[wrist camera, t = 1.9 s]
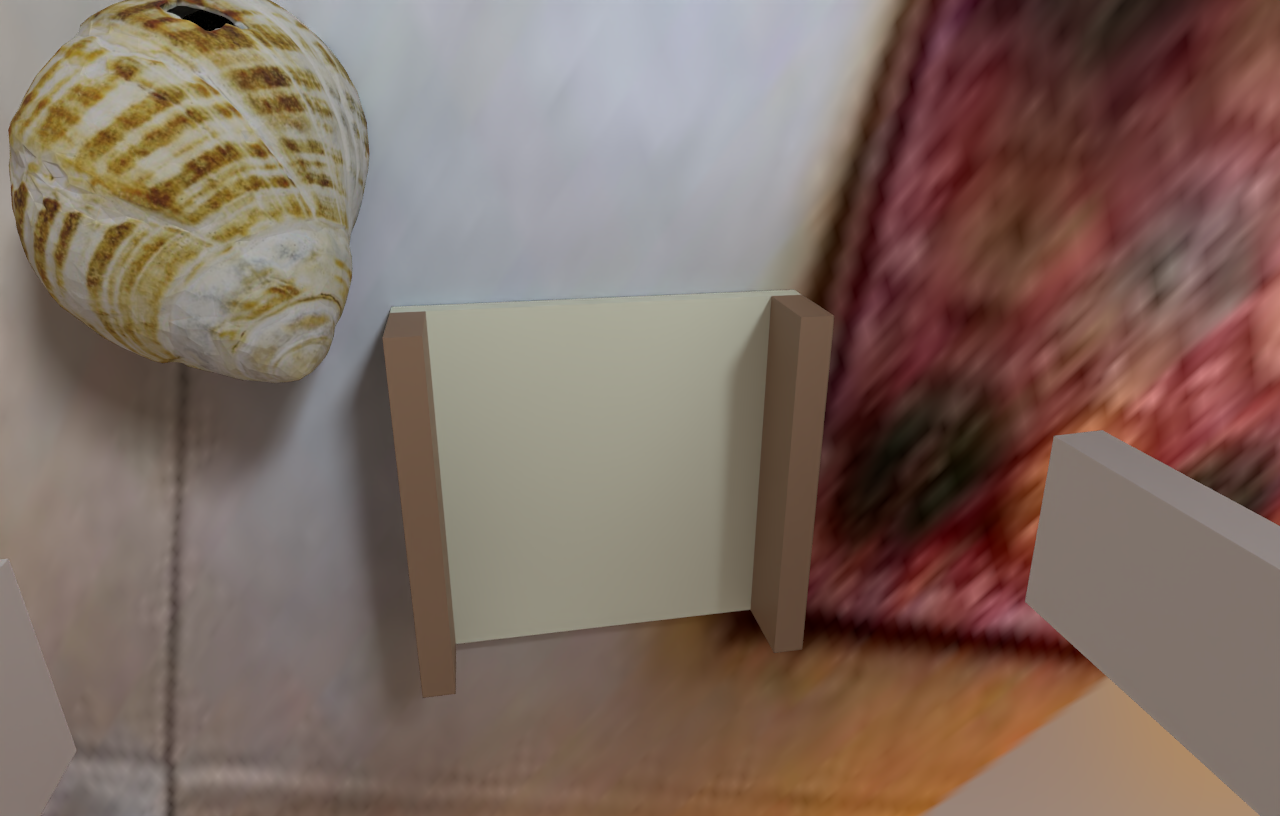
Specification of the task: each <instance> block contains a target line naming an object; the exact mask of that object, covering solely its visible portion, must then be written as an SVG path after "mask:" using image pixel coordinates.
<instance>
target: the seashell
mask: <svg viewBox="0 0 1280 816" xmlns="http://www.w3.org/2000/svg"><path fill="white" fill-rule="evenodd" d="M201 9H202V10H205V11H208V12H211V13H214V14H217V15H220V16H223V17H226V18H227V19H229V20H230V21H232V22H233V23H234V24H235V25H236V26H238V27H236V26H233V25H230V24H227V23H226V24H225V25H224V26H223V27H222V28H218V29H215V30H213V31H205V30H204V29H202V28H201V27H199V26H198V25H196V24H195V23H193V22H191V21H189V20H184V19H182V18H183V17H184V16H187V15H189V14H191V13H194V12H196V11H199V10H201ZM239 27H240V28H239ZM8 131H9V144H10V161H9V172H10V181H11V196H12V208H13V212H14V216H15V219H16V226H17V230H18V233H19V236H20V239H21V243H22V246H23V249H24V251H25V254H26V257H27V259H28V261H29V263H30V264H31V266H32V268H33V270H34V271H35V273H36V274H37V276H38V278H39V279H40V281H41V282H42V284H43V285H44V286H45V288H46V289H47V290H48V292H49V293H50V295H51V296H52V297H53V298H54V300H55V301H56V302H57V303H58V304H59V305H60V306H61V307H62V308H64V309H65V310H66V311H68V312H69V313H71V314H72V315H73V316H75V317H76V318H78V319H79V320H80V321H82V322H83V323H84V324H86V325H87V326H88V327H90V328H91V329H92V330H94V331H95V332H96V333H98V334H99V335H101V336H102V337H103V338H105V339H107V340H109V341H110V342H112V343H114V344H116V345H118V346H120V347H122V348H124V349H126V350H129V351H131V352H133V353H135V354H138V355H140V356H143V357H145V358H148V359H150V360H153V361H156V362H160V363H168V362H180V363H183V364H185V365H187V366H189V367H193V368H197V369H200V370H204V371H209V372H216V373H218V374H222V375H225V376H229V377H233V378H236V379H240V380H252V381H265V382H270V383H281V382H292V381H296V380H300V379H302V378H303V377H305V376H306V375H308V374H310V373H312V372H313V371H314V370H315V368H316V367H317V366H318V365H319V364H320V363H321V362H322V361H323V359H324V358H325V357H326V355H327V353H328V351H329V349H330V346H331V343H332V340H333V337H334V329H335V326H336V324H337V322H338V321H339V319H340V317H341V315H342V312H343V309H344V306H345V303H346V300H347V296H348V292H349V288H350V283H351V279H352V256H351V252H350V247H349V242H350V235H351V231H352V229H353V227H354V225H355V222H356V220H357V217H358V214H359V210H360V207H361V203H362V198H363V193H364V188H365V183H366V177H367V173H368V166H369V144H368V134H367V122H366V119H365V116H364V112H363V109H362V106H361V103H360V99H359V96H358V93H357V90H356V89H355V87H354V85H353V83H352V82H351V80H350V78H349V76H348V74H347V72H346V71H345V69H344V68H343V66H342V65H341V63H340V62H339V61H338V59H337V58H336V57H335V55H334V54H333V53H332V51H331V50H330V49H329V48H328V47H327V46H326V45H325V44H324V43H323V42H322V41H321V39H320V38H319V37H318V36H317V35H316V34H315V33H313V32H312V31H311V30H310V29H309V28H308V27H307V26H305V25H304V24H303V23H302V22H301V21H299V20H298V19H297V18H296V17H295V16H294V15H292V14H291V13H290V12H288V11H287V10H285V9H283V8H282V7H280V6H279V5H277V4H276V3H274V2H272V1H270V0H124V1H121V2H118V3H115V4H112V5H110V6H109V7H107V8H105V9H103V10H101V11H99V12H97V13H96V14H94V15H92V16H91V17H89V18H88V19H87V20H86V21H85V22H83V23H82V24H81V26H80V29H79V32H78V33H77V34H76V36H75V37H74V38H73V39H72V40H71V41H69V42H67V43H66V44H64V45H63V46H62V47H61V48H60V49H59V50H58V51H57V52H56V54H55V55H54V56H53V57H52V58H51V59H50V60H49V62H48V63H47V64H46V65H45V66H44V67H43V68H42V69H41V71H40V72H39V73H38V74H37V75H36V77H35V78H34V80H33V82H32V84H31V86H30V87H29V89H28V91H27V93H26V94H25V96H24V98H23V100H22V102H21V105H20V107H19V109H18V111H17V112H16V114H15V116H14V117H13V119H12V121H11V124H10V127H9V130H8Z"/></svg>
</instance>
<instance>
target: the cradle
mask: <svg viewBox="0 0 1280 816" xmlns="http://www.w3.org/2000/svg"><path fill="white" fill-rule="evenodd" d="M833 324H834V315H832V314H831V313H829V312H828V311H826V310H825V309H823V308H821V307H820V306H818V305H817V304H815V303H814V302H812V301H811V300H809V299H808V298H806V297H805V296H803V295H801V294H800V293H798V292H797V291H795V290H775V291H751V292H728V293H705V294H682V295H658V296H635V297H612V298H588V299H565V300H542V301H518V302H495V303H472V304H448V305H425V306H402V307H391V310H390V314H389V317H388V321H387V324H386V327H385V331H384V334H383V338H382V339H383V348H384V357H385V366H386V374H387V383H388V392H389V401H390V410H391V419H392V428H393V437H394V446H395V455H396V464H397V473H398V481H399V490H400V499H401V508H402V517H403V526H404V535H405V544H406V553H407V562H408V571H409V580H410V588H411V597H412V606H413V615H414V624H415V633H416V642H417V651H418V660H419V669H420V678H421V687H422V695H423V698H426V697H434V696H442V695H449V694H456V644H460V643H469V642H477V641H486V640H495V639H503V638H512V637H520V636H529V635H537V634H546V633H554V632H563V631H571V630H580V629H589V628H597V627H606V626H614V625H623V624H631V623H640V622H648V621H657V620H665V619H674V618H683V617H691V616H700V615H708V614H717V613H725V612H734V611H742V610H751V611H752V613H753V615H754V617H755V619H756V621H757V623H758V624H759V626H760V628H761V630H762V632H763V634H764V635H765V637H766V639H767V641H768V643H769V645H770V646H771V648H772V650H773V652H774V653H778V652H786V651H793V650H801V649H802V645H803V635H804V624H805V614H806V604H807V593H808V583H809V572H810V562H811V552H812V541H813V531H814V521H815V510H816V500H817V489H818V479H819V469H820V458H821V448H822V438H823V427H824V417H825V406H826V396H827V386H828V375H829V365H830V355H831V344H832V334H833Z"/></svg>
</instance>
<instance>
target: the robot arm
mask: <svg viewBox="0 0 1280 816" xmlns="http://www.w3.org/2000/svg"><path fill="white" fill-rule="evenodd" d="M1025 602H1026V603H1027V604H1028V605H1029V606H1030V607H1031V608H1033V609H1034V610H1035V611H1036V612H1037V613H1038V614H1039V615H1040V616H1041V617H1042V618H1044V619H1045V620H1046V621H1047V622H1048V623H1049V624H1050V625H1051V626H1052V627H1053V628H1055V629H1056V630H1057V631H1058V632H1059V633H1060V634H1061V635H1062V636H1063V637H1064V638H1066V639H1067V640H1068V641H1069V642H1070V643H1071V644H1072V645H1073V646H1074V647H1075V648H1077V649H1078V650H1079V651H1080V652H1081V653H1082V654H1083V655H1084V656H1085V657H1086V658H1088V659H1089V660H1090V661H1091V662H1092V663H1093V664H1094V665H1095V666H1096V667H1097V668H1098V669H1100V670H1101V671H1102V672H1103V673H1104V674H1105V675H1106V676H1107V677H1108V678H1110V679H1111V680H1112V681H1113V682H1114V683H1115V684H1116V685H1117V686H1118V687H1119V688H1120V689H1122V690H1123V691H1124V692H1125V693H1126V694H1127V695H1128V696H1129V697H1130V698H1131V699H1133V700H1134V701H1135V702H1136V703H1137V704H1138V705H1139V706H1140V707H1141V708H1142V709H1144V710H1145V711H1146V712H1147V713H1148V714H1149V715H1150V716H1151V717H1152V718H1153V719H1154V720H1156V721H1157V722H1158V723H1159V724H1160V725H1161V726H1162V727H1163V728H1164V729H1166V730H1167V731H1168V732H1169V733H1170V734H1171V735H1172V736H1174V738H1175V739H1176V740H1178V741H1179V742H1180V743H1181V744H1182V745H1183V746H1184V747H1185V748H1186V749H1187V750H1189V751H1190V752H1191V753H1192V754H1193V755H1194V756H1195V757H1196V758H1197V759H1199V760H1200V761H1201V762H1202V763H1203V764H1204V765H1205V766H1206V767H1207V768H1208V769H1210V770H1211V771H1212V772H1213V773H1214V774H1215V775H1216V776H1217V777H1218V778H1219V779H1220V780H1222V781H1223V782H1224V783H1225V784H1226V785H1227V786H1228V787H1229V788H1230V789H1231V790H1232V791H1234V792H1235V793H1236V794H1237V795H1238V796H1239V797H1240V798H1241V799H1242V800H1243V801H1245V802H1246V803H1247V804H1248V805H1249V806H1250V807H1251V808H1252V809H1253V810H1255V811H1256V812H1257V813H1258V814H1259V815H1260V816H1280V526H1278V525H1277V524H1275V523H1273V522H1271V521H1269V520H1267V519H1265V518H1264V517H1262V516H1260V515H1258V514H1256V513H1254V512H1252V511H1251V510H1249V509H1247V508H1245V507H1243V506H1241V505H1239V504H1238V503H1236V502H1234V501H1232V500H1230V499H1228V498H1226V497H1225V496H1223V495H1221V494H1219V493H1217V492H1215V491H1214V490H1212V489H1210V488H1208V487H1206V486H1204V485H1202V484H1201V483H1199V482H1197V481H1195V480H1193V479H1191V478H1189V477H1188V476H1186V475H1184V474H1182V473H1180V472H1178V471H1176V470H1175V469H1173V468H1171V467H1169V466H1167V465H1165V464H1163V463H1162V462H1160V461H1158V460H1156V459H1154V458H1152V457H1150V456H1149V455H1147V454H1145V453H1143V452H1141V451H1139V450H1137V449H1136V448H1134V447H1132V446H1130V445H1128V444H1126V443H1125V442H1123V441H1121V440H1119V439H1117V438H1115V437H1113V436H1112V435H1110V434H1108V433H1106V432H1104V431H1102V430H1101V431H1092V432H1084V433H1075V434H1067V435H1058V436H1054V439H1053V445H1052V450H1051V456H1050V462H1049V468H1048V473H1047V479H1046V485H1045V491H1044V496H1043V502H1042V508H1041V514H1040V519H1039V525H1038V531H1037V536H1036V542H1035V548H1034V554H1033V559H1032V565H1031V571H1030V577H1029V582H1028V588H1027V594H1026V600H1025ZM76 751H77V750H76V747H75V744H74V742H73V739H72V736H71V733H70V730H69V727H68V725H67V722H66V719H65V716H64V713H63V710H62V708H61V705H60V702H59V699H58V696H57V694H56V691H55V688H54V685H53V682H52V679H51V677H50V674H49V671H48V668H47V665H46V662H45V660H44V657H43V654H42V651H41V648H40V645H39V643H38V640H37V637H36V634H35V631H34V628H33V626H32V623H31V620H30V617H29V614H28V611H27V609H26V606H25V603H24V600H23V597H22V595H21V592H20V589H19V586H18V583H17V580H16V578H15V575H14V572H13V569H12V566H11V563H10V561H9V559H2V560H0V816H40V815H41V813H42V812H43V810H44V808H45V806H46V805H47V803H48V801H49V799H50V797H51V796H52V794H53V792H54V790H55V788H56V787H57V785H58V783H59V781H60V779H61V778H62V776H63V774H64V772H65V771H66V769H67V767H68V765H69V763H70V762H71V760H72V758H73V756H74V754H75V753H76Z"/></svg>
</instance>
